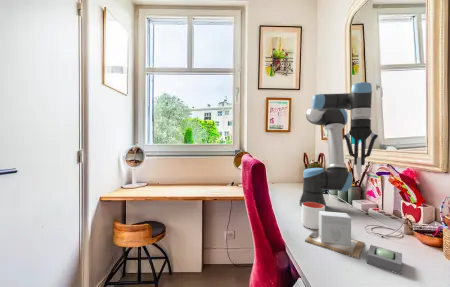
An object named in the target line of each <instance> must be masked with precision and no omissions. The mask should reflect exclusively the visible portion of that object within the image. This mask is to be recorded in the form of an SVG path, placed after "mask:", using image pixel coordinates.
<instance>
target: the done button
mask: <svg viewBox="0 0 450 287" xmlns="http://www.w3.org/2000/svg"><path fill="white" fill-rule="evenodd" d="M382 248H383V247H381V248H378V249H377V254H376V255H379V256H382V257H385V258H389V259H392V260H393V253H392V252H391V251H392V250H391V251H389V250H390V249H388V250H386V249H387V248H384V249H382Z"/></svg>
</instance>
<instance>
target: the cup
mask: <svg viewBox="0 0 450 287" xmlns="http://www.w3.org/2000/svg"><path fill="white" fill-rule="evenodd" d="M319 211H326V208H325V206H324V205H322V204H319V203H314V202H304V203H302V206H301V216H300V217H301V220H300V222H301V225H302V226H303V227H304V226H305V227H304V228H307V229H309V228H310V230H314V229H317V230H318V229H319Z"/></svg>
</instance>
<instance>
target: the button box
mask: <svg viewBox="0 0 450 287" xmlns="http://www.w3.org/2000/svg"><path fill="white" fill-rule="evenodd" d="M378 248H382V249H386V250H389V251H391V252H392V253H393V260H392V259H389V258H385V257H382V256H379V255H376V254H377V249H378ZM366 255H367V256H366V264H368V265H370V266H374V267H377V268H381V269H383V270H386V271H389V272H392V271H393V273H395V272H396V274H398V273H399V275H402V266H403V253H401V252H399V251H398V252H397V251H395V250H390V249H387V248H383V247H380V246H376V245H372V244H370V245H369V249H368V251H367V253H366Z"/></svg>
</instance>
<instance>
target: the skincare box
mask: <svg viewBox="0 0 450 287" xmlns="http://www.w3.org/2000/svg"><path fill="white" fill-rule="evenodd" d="M319 238H320V240H321V242H324V243H333V244H341V245H349V246H351V239H352V217H351V216H350V215H349V214H348V213H346V212H334V211H326V210H325V211H319Z"/></svg>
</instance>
